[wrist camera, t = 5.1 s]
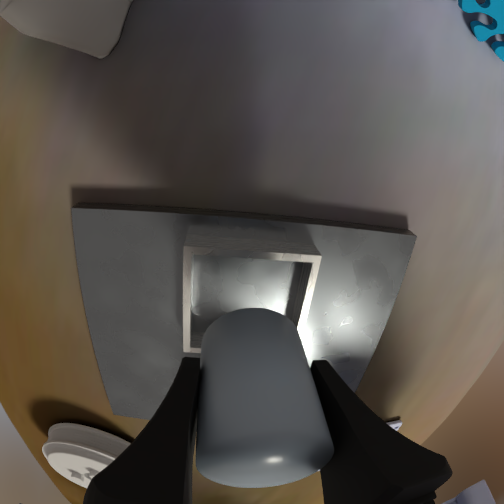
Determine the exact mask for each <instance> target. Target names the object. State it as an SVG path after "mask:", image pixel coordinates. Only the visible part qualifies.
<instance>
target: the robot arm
mask: <svg viewBox="0 0 504 504" xmlns="http://www.w3.org/2000/svg"><path fill="white" fill-rule="evenodd" d="M310 370H311V373H312V376H313V379H314V383H315V386H316V389H317V393H318V396H319V399H320V402H321V406H322V409H323V412H324V416H325V419H326V422H327V426H328V429H329V432H330V436H331V439H332V442H333V446H334V454H333V456H332V458H331V460H330V461H329V462H328V463H327V464H326V465H325V466H324V467H323V468H321V469H320V470H318V471H320V473H321V479H322V487H323V495H324V504H435V502H434V500H433V499H435V498H436V494H435V490H436V489H437V488H439V487H440V486H441V485H442V484H444V483H445V482H446V481H447V480H448V479H449V478H450V477H451V476H452V470H451V468H450V466H449V464H448V462H447V460H446V458H445V457H444V456H442V455H440V454H437V453H435V452H433V451H431V450H428V449H426V448H424V447H422V446H420V445H419V444H417V443H415V442H413V441H411V440H410V439H408V438H406V437H405V436H403V435H402V434H400V433H399V432H397V430H398V429H399V427H400V426H401V425H402V421H401V420H398V421H393V422H388V423H385V422H384V421H383V420H382V419H381V418H379V417H378V416H377V415H376V414H375V413H374V412H373V411H371V410H370V409H369V408H368V407H367V406H366V405H365V404H364V403H363V402H362V401H361V400H360V399H359V397H358V396H357V395H356V394H355V393H354V392H353V391H352V390H351V389H350V387H349V386H348V385H347V384H346V383H345V382H344V380H343V379H342V378H341V377H340V376H339V374H338V373H337V372H336V371H335V370H334V368H333V367H332V366H331V365H330V363H329V362H328V361H327V360H313V361H312V364H311V367H310ZM199 380H200V358H195V357H184V358H182V361H181V364H180V367H179V370H178V372H177V374H176V377H175V379H174V381H173V383H172V385H171V387H170V389H169V391H168V392H167V394H166V396H165V398H164V400H163V401H162V403H161V404H160V406H159V408H158V409H157V411H156V412H155V414H154V415H153V417H152V418H151V420H150V421H149V422H148V424H147V425H146V426H145V428H144V429H143V430H142V431H141V432H140V434H139V435H138V436H137V437H136V438H135V440H134V441H133V442H132V443H131V444H130V445H129V446H128V447H127V448H126V449H125V450H124V451H123V452H122V453H121V454H120V455H119V456H118V457H117V458H116V459H115V460H114V461H113V462H112V463H110V464H109V465H108V466H107V467H105V468H104V469H103V470H102V471H100V472H99V473H98V474H97V475H95V476H94V477H93V478H92V480H91V481H90V483H89V485H88V488H87V490H86V493H85V496H84V501H83V504H192V464H193V453H194V446H195V438H196V431H197V412H198V394H199ZM19 504H21V503H19ZM442 504H496V503H495V501H494V499H493V497H492V494H491V492H490V490H489V488H488V486H487V484H486V482H485V480H482V481H480V482H478V483H476V484H474V485H472V486H470V487H469V488H467V489H465V490H464V491H462V492H461V493H460V494H458V495H457V496H456V497H455V498H453V499H451V500H449V501H446V502H444V503H442Z"/></svg>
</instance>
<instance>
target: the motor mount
mask: <svg viewBox="0 0 504 504" xmlns="http://www.w3.org/2000/svg"><path fill="white" fill-rule="evenodd" d="M71 210H72V222H73V233H74V242H75V251H76V258H77V266H78V272H79V279H80V285H81V291H82V296H83V302H84V307H85V312H86V317H87V321H88V326H89V330H90V335H91V339H92V343H93V347H94V351H95V355H96V359H97V362H98V366H99V370H100V373H101V376H102V380H103V383H104V386H105V390H106V393H107V396H108V399H109V402H110V405H111V408H112V411H113V414H114V415H120V416H127V417H133V418H140V419H148V420H151V418H152V417H153V415H154V414H155V412H156V411H157V409H158V408H159V406H160V404H161V403H162V401H163V400H164V398H165V396H166V394H167V392H168V391H169V389H170V387H171V385H172V383H173V381H174V379H175V377H176V374H177V372H178V370H179V367H180V364H181V361H182V358H184V357H195V358H200V357H201V343H202V338H203V335H204V333H205V331H206V330H207V328H208V327H209V326H210V325H211V324H212V323H213V322H214V321H215V320H216V319H218V318H219V317H221V316H223V315H225V314H227V313H229V312H232V311H235V310H238V309H244V308H265V309H270V310H273V311H276V312H279V313H281V314H283V315H284V316H286V317H287V318H289V319H290V320H291V321H292V322H293V323H294V325H295V326H296V327H297V330H298V332H299V335H300V338H301V341H302V344H303V347H304V351H305V354H306V357H307V360H308V363H309V367H311V364H312V361H313V360H327V361H328V362H329V363H330V365H331V366H332V367H333V368H334V370H335V371H336V372H337V373H338V374H339V376H340V377H341V378H342V379H343V380H344V382H345V383H346V384H347V385H348V386H349V387H350V389H351V390H352V391H353V392H354V393H355V391H356V389H357V387H358V385H359V383H360V381H361V379H362V377H363V375H364V373H365V371H366V369H367V367H368V364H369V362H370V360H371V358H372V356H373V354H374V351H375V349H376V347H377V344H378V342H379V340H380V338H381V335H382V333H383V330H384V328H385V326H386V323H387V321H388V318H389V316H390V313H391V311H392V308H393V305H394V303H395V300H396V297H397V295H398V292H399V289H400V286H401V284H402V281H403V278H404V275H405V272H406V269H407V266H408V263H409V260H410V257H411V254H412V250H413V247H414V244H415V241H416V237H417V236H416V235H415V234H413V233H412V232H411V231H410V230H405V229H397V228H389V227H381V226H373V225H365V224H356V223H348V222H339V221H330V220H320V219H311V218H301V217H291V216H280V215H269V214H258V213H246V212H234V211H221V210H208V209H193V208H178V207H162V206H144V205H124V204H100V203H78V204H76V205H75V206H73V207H72V208H71Z"/></svg>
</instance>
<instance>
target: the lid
mask: <svg viewBox="0 0 504 504" xmlns="http://www.w3.org/2000/svg"><path fill="white" fill-rule="evenodd" d="M48 437H49V438H48V441H47V442H46V443H44V445H43V448H42V451H43V454H44V456H45V457H46V458H47V460H48V462H49V464H50V465H51V466H52V467H53V468H54V469H55V470H56V471H57V472H58V473H60V474H61V475H62V476H64V477H65V478H67V479H69V480H70V481H72V482H74V483H76V484H78V485H80V486H83V487H85V488H88V485H89V483H90V481H91V480H92V478H93V477H94V476H95V475H97V474H98V473H99V472H100V471H102V470H103V469H104V468H105V467H107V466H108V465H109V464H110V463H112V462H113V461H114V460H115V459H116V458H117V457H118V456H119V455H120V454H121V453H122V452H123V451H124V450H125V449H126V448H127V447H128V446H129V445H130V444H131V443H129V442H127V441H125V440H123V439H121V438H119V437H117V436H115V435H112V434H110V433H107V432H105V431H102V430H99V429H96V428H92V427H89V426H84V425H80V424H73V423H59V424H55V425H53V426H51V427H50V429H49V431H48Z"/></svg>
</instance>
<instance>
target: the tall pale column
mask: <svg viewBox="0 0 504 504" xmlns="http://www.w3.org/2000/svg"><path fill="white" fill-rule="evenodd" d="M132 1H133V0H0V16H1V17H2V18H4V19H5V20H6V21H7V22H8V23H10V24H11V25H12V26H13V27H15V28H16V29H17V30H18V31H19V32H21V33H22V34H25V35H28V36H31V37H35V38H38V39H42V40H45V41H49V42H52V43H55V44H59V45H62V46H65V47H68V48H71V49H74V50H77V51H81V52H84V53H86V54H89V55H92V56H95V57H97V58H99V59H102V58H104V57H105V56H107V55H109V54H110V53H111V52H112V50H113V49H114V47H115V46H116V45H117V43H118V42H119V40H120V36H121V33H122V30H123V26H124V23H125V20H126V17H127V14H128V11H129V8H130V5H131V2H132Z"/></svg>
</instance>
